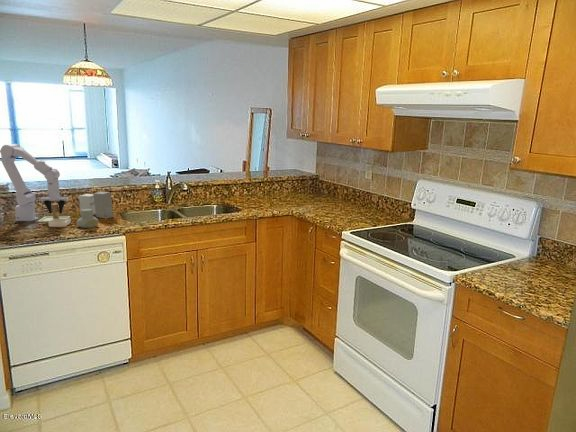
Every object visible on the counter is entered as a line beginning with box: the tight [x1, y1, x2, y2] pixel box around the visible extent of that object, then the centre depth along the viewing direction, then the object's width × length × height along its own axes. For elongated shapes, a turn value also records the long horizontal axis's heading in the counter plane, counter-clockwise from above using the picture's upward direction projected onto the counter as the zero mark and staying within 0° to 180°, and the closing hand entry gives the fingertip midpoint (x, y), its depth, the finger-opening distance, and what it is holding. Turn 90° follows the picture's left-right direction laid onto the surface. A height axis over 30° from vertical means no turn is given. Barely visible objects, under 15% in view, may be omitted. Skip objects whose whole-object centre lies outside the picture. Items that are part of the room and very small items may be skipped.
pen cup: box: [47, 218, 72, 228], centre depth 239 cm, size 9×9×3 cm
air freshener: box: [76, 209, 99, 229], centre depth 237 cm, size 11×8×10 cm
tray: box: [36, 215, 71, 223], centre depth 250 cm, size 14×12×1 cm
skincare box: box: [93, 190, 114, 220], centre depth 259 cm, size 8×7×16 cm
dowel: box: [51, 203, 60, 219], centre depth 249 cm, size 3×3×9 cm
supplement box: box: [78, 193, 96, 216], centre depth 265 cm, size 7×7×13 cm
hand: (55, 213), depth 249 cm, fingers open, 5 cm apart
